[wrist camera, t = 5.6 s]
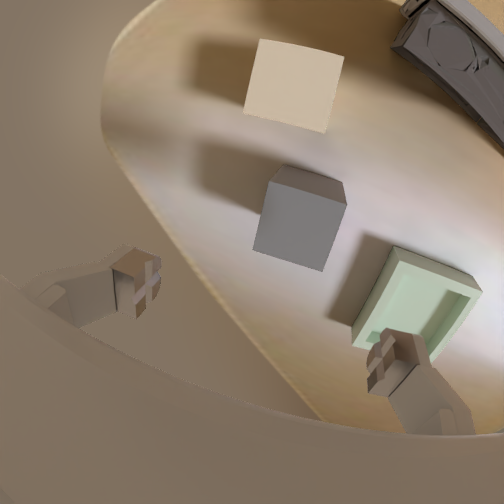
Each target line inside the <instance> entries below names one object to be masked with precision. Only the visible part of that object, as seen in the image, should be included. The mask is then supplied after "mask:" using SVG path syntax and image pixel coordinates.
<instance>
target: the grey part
mask: <svg viewBox="0 0 504 504" xmlns="http://www.w3.org/2000/svg"><path fill="white" fill-rule="evenodd" d="M346 206H347V202H346V197H345V193H344V188H343V183H342V182H339V181H336V180H333V179H330V178H327V177H324V176H321V175H318V174H314V173H311V172H308V171H304V170H301V169H297V168H294V167H290V166H287V165H283V166H282V167H281V168H280V169H279V170H278V171H277V173H276V174H275V175H274V176H273V177H272V178H271V179H270V180H269V183H268V187H267V191H266V196H265V200H264V204H263V208H262V212H261V216H260V221H259V225H258V229H257V233H256V237H255V241H254V246H253V250H254V251H257V252H260V253H263V254H267V255H270V256H273V257H276V258H279V259H283V260H286V261H289V262H292V263H295V264H299V265H302V266H305V267H308V268H311V269H315V270H318V271H321V272H322V271H323V269H324V266H325V263H326V261H327V258H328V256H329V253H330V250H331V248H332V245H333V242H334V240H335V237H336V234H337V232H338V229H339V226H340V223H341V220H342V218H343V215H344V212H345V209H346Z"/></svg>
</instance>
